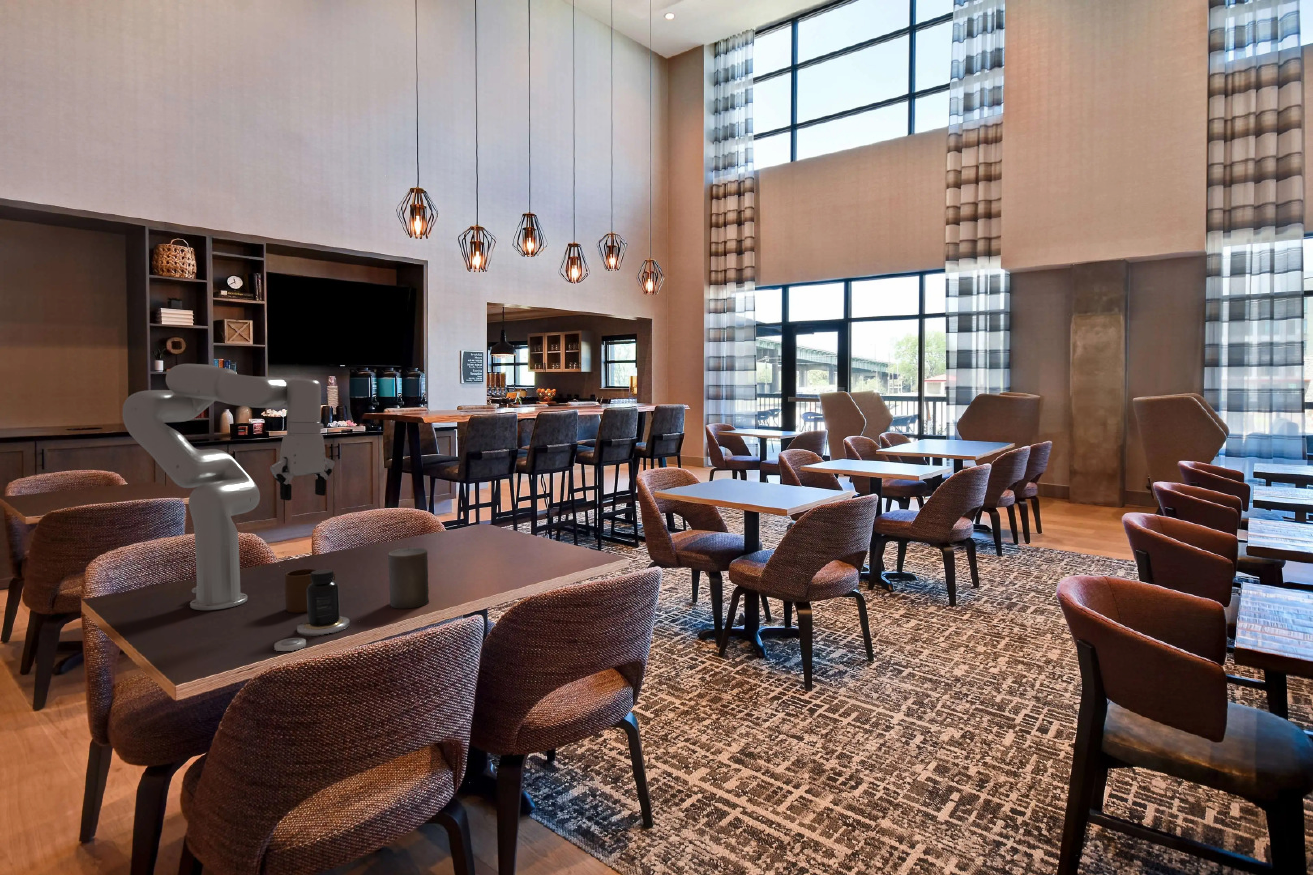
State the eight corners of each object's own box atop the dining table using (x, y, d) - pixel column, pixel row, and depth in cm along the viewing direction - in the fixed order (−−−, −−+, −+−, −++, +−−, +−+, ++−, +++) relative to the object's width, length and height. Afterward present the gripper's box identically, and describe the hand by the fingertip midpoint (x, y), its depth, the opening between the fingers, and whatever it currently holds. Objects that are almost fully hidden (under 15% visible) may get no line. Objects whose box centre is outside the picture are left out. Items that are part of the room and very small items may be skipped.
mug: (330, 599, 188) (329, 564, 188) (341, 605, 183) (340, 569, 182) (281, 608, 180) (280, 572, 180) (291, 615, 175) (290, 577, 174)
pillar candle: (436, 601, 187) (435, 544, 186) (406, 611, 178) (405, 551, 178) (411, 596, 192) (410, 541, 191) (381, 605, 183) (379, 548, 183)
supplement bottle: (345, 617, 169) (344, 568, 168) (330, 627, 162) (328, 575, 162) (318, 616, 170) (316, 567, 169) (301, 626, 163) (299, 575, 162)
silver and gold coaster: (286, 631, 163) (286, 626, 163) (326, 617, 173) (326, 612, 173) (320, 638, 159) (320, 633, 159) (359, 624, 169) (359, 619, 169)
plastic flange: (268, 649, 152) (267, 644, 152) (292, 640, 157) (292, 635, 157) (287, 653, 149) (287, 648, 149) (312, 644, 155) (312, 639, 155)
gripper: (323, 426, 186) (323, 491, 187) (261, 429, 171) (261, 500, 172) (343, 428, 183) (343, 494, 184) (282, 431, 167) (281, 503, 168)
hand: (303, 497), depth 178 cm, fingers open, 9 cm apart
